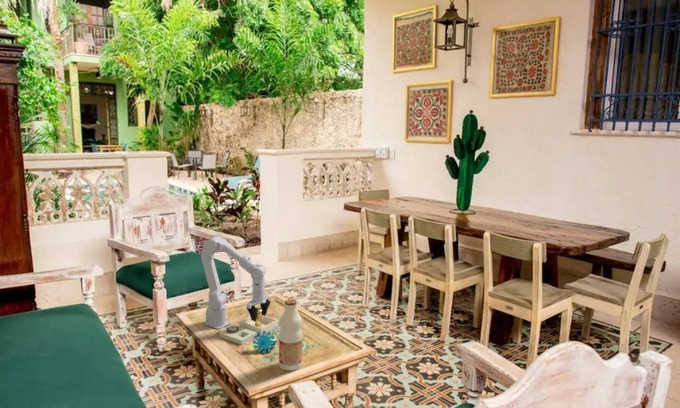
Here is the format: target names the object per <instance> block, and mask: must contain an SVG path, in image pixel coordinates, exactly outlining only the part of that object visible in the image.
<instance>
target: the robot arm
mask: <svg viewBox="0 0 680 408" xmlns="http://www.w3.org/2000/svg"><path fill="white" fill-rule="evenodd" d="M216 252H217V253H226V254H227V255H228V256H230V257H232V258H233V259H234V260H235V261H237V262H238V265H239V267H240V268H242V269H243V270H245V271H246V272H247V273H248V274H249V275H250V278H251V279H252V299H251V300H250V301H249V302H248V303H246V310H247V311H248V313H249V316H251V320H252V321H256V313H257V309H258V308H259V307H256V306H257V305H259V304H260V305H259V306H260V308H261V309H262V312H261V315H263V316H267V313H268V310H269V309H268V308H269V307H270V305H271V301H270V300H271V296H270V295H268V294H265V291H266V290H265V289H266V288H265V287H266V286H265V285H266V283H265V282H266V281H265V274H266V271H267V269H266V267H264V265H263V264H259V263H257V262H255V261H254V260H253V259H252V257H251V256H247V255H243V254H241V253H240V251H238V250H237V249H236V248H235V247H233V246H232V245H231V244H230V243H229V242H228V240H227V239H225V238H223V236H221V235H219V234H215V235H213V236H212V237H210V238H209V239H207V240H206V241H204V243H203V244H202V250H201V253H200V258H201V263H202V266H203V270H204V275H205V278H206V282H207V286H208V290H209V293H208V307H207V308H206V310H205V323H204V325H205V326H208V327H210V328H214V329H215V330H220V329H222V328H223V327H226V326H228V325H230V324H231V323H230V321H227V306H226V302H227V300H228V295H227V294H226V292H225V291H224V288H223V287H222V286H221V281H220V278H219V275H218V271H217V268H216V264H215V260H214V255H215V254H216Z"/></svg>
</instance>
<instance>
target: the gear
mask: <svg viewBox="0 0 680 408" xmlns="http://www.w3.org/2000/svg"><path fill="white" fill-rule="evenodd" d="M265 333H266V331H263V335H262V336H261V335H260V334H261V332H258V333H257V336H256V335H255V336H254V338H253V339H252V340H253V341H252V344H254V346H253V349H257V350H256V351H257V353H260V352H261V351H262V352H261V353H262V354H266V353H271V349H272V350H274V349H275V345H276V344H278V343H279V339H276V340H275V336H274V335H272V336H271V331H269V332H267V333H266V335H265ZM270 347H271V348H270ZM266 350H267V351H266Z"/></svg>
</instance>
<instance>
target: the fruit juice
mask: <svg viewBox="0 0 680 408" xmlns="http://www.w3.org/2000/svg"><path fill="white" fill-rule="evenodd" d="M297 305H298V299H295V298H287V299H285V300H284V306H285V308H284V311H283V313H282V315H280V318H279V327H280V330H279V333H278V334H279V335H278V364H279V368H280V369H281V370H284V371H296V370H298V369H300V368H301V367H302V364H303V330H302V325H303V319H302V316H301V315H300V313H299V311H298V307H297Z"/></svg>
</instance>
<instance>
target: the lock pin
mask: <svg viewBox="0 0 680 408" xmlns="http://www.w3.org/2000/svg"><path fill="white" fill-rule="evenodd" d="M257 308H258V309H257V313H256V321H255V326H257V327H260V328H261V315H262V313H261V312H262V309H261V307H257Z"/></svg>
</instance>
